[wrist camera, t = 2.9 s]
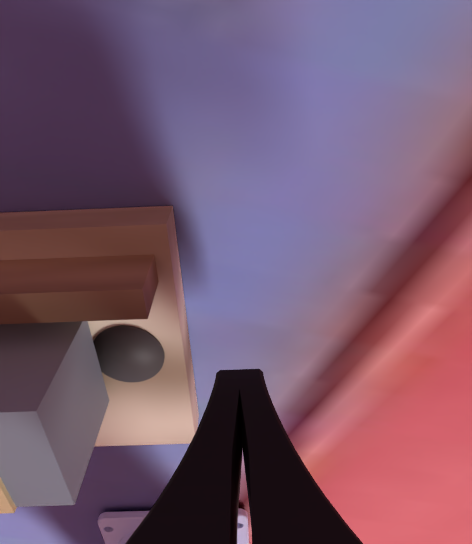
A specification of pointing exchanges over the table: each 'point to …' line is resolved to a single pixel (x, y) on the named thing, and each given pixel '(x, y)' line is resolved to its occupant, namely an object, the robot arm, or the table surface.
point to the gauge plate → (110, 308)
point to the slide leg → (47, 412)
